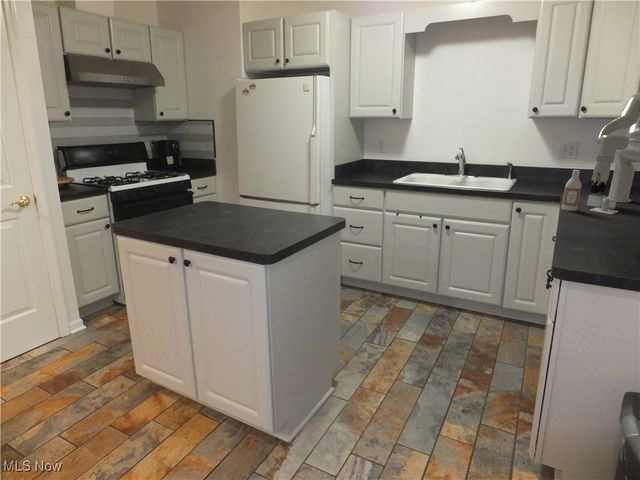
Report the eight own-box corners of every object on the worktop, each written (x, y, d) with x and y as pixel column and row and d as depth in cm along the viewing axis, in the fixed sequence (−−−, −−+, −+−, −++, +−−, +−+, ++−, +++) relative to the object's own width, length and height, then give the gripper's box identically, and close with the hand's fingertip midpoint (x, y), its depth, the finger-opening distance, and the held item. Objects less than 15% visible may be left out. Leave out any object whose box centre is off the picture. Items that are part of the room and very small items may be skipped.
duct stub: (596, 208, 223) (599, 196, 222) (618, 211, 216) (621, 199, 214) (589, 210, 217) (591, 198, 215) (611, 214, 210) (614, 201, 208)
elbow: (586, 205, 230) (588, 195, 229) (591, 203, 234) (593, 193, 233) (611, 209, 222) (614, 198, 220) (615, 207, 226) (618, 197, 224)
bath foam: (560, 210, 217) (568, 170, 211) (561, 207, 223) (568, 168, 217) (576, 211, 214) (584, 171, 208) (576, 209, 219) (584, 170, 214)
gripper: (602, 158, 231) (595, 190, 235) (590, 159, 220) (583, 192, 225) (618, 160, 225) (611, 192, 230) (607, 160, 215) (599, 194, 219)
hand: (597, 192), depth 227 cm, fingers open, 9 cm apart
